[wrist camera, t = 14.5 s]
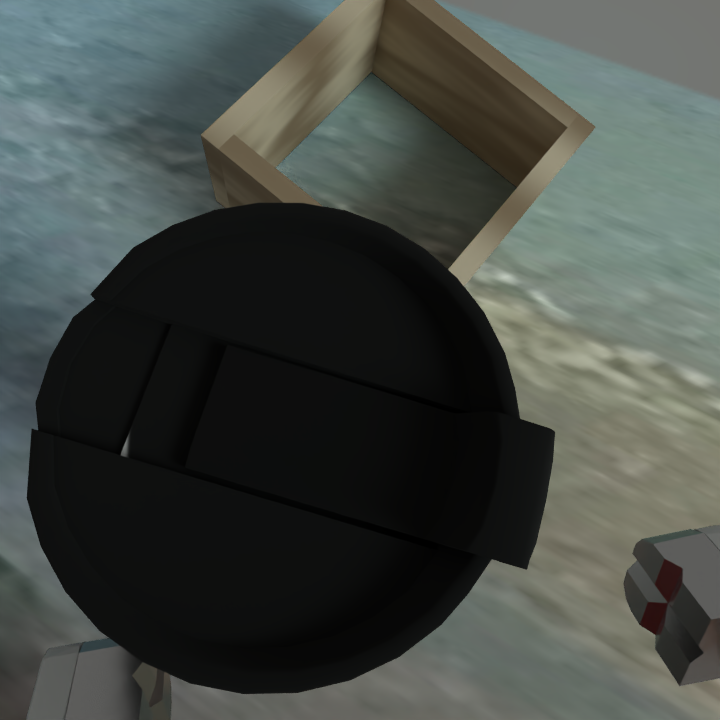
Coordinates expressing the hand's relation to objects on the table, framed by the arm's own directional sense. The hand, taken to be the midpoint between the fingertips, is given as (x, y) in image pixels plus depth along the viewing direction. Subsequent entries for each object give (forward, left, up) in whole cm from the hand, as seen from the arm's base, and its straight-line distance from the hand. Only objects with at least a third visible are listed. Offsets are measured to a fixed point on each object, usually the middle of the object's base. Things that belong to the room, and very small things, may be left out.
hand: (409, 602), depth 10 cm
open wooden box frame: (+16, +9, -19) cm, 27 cm away
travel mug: (0, +4, -17) cm, 17 cm away
